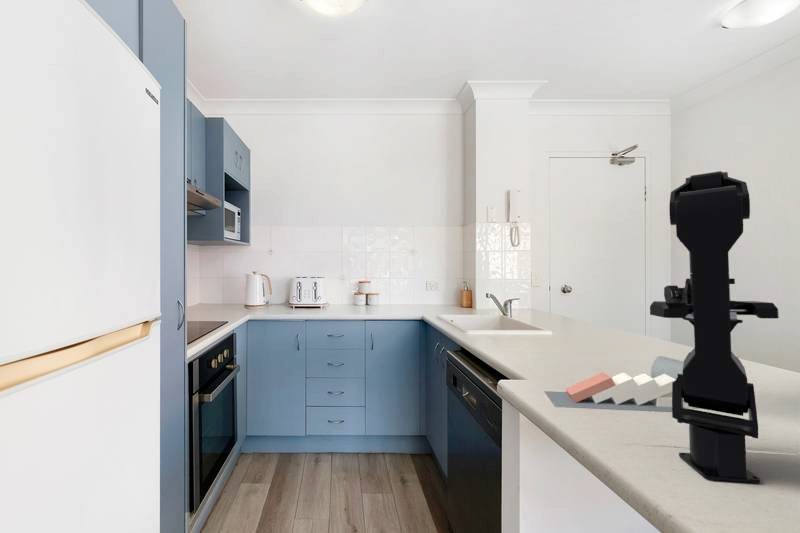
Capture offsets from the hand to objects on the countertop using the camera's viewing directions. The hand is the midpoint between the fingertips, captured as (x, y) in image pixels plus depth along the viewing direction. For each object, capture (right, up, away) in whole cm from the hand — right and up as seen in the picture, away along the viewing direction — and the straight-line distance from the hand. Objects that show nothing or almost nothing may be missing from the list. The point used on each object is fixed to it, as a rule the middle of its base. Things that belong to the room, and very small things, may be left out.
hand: (712, 354), depth 68 cm
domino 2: (-19, -11, +9) cm, 24 cm away
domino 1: (-23, -11, +10) cm, 27 cm away
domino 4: (-11, -11, +8) cm, 17 cm away
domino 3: (-15, -11, +8) cm, 20 cm away
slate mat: (-16, -13, +9) cm, 22 cm away
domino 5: (-7, -11, +7) cm, 15 cm away
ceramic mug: (+6, -13, +16) cm, 21 cm away
